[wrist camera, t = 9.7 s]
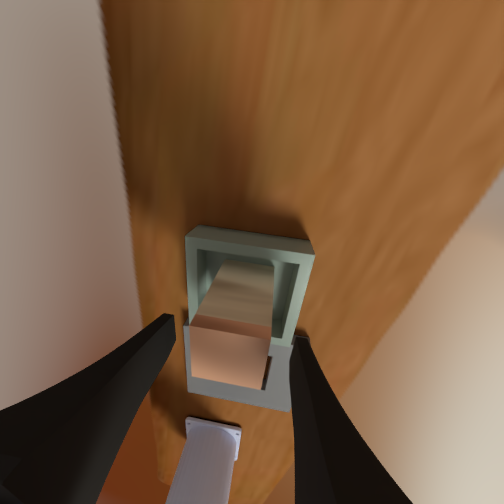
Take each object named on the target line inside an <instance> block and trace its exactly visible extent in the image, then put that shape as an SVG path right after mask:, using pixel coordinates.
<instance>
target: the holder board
mask: <svg viewBox="0 0 504 504" xmlns="http://www.w3.org/2000/svg"><path fill="white" fill-rule="evenodd" d="M183 328H184V342H185V357H186V371H187V386H188V392H191V393H196V394H201V395H206V396H211V397H215V398H220V399H225V400H230V401H235V402H240V403H245V404H250V405H255V406H260V407H265V408H270V409H275V410H280V411H284V412H289V411H290V409H291V395H290V384H289V360H290V356H291V352H292V349H293V345H294V342H295V338H296V336H297V335H293V338H292V342H291V345H290V347H285V346H280V345H274V344H270V347H269V352H268V356H271V358H270V363H269V367H268V372H267V376H266V379H263V381H262V386H261V390H259V389H254V388H249V387H243V386H238V385H233V384H228V383H223V382H218V381H213V380H208V379H203V378H198V377H193V376H192V372H191V353H190V334H189V317H188V318H187V320H186V322H185V323H184V325H183ZM297 337H302V338H307V339H308V341H309V343H310V338H309V337H303V336H297ZM310 346H311V344H310Z"/></svg>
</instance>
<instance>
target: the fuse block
mask: <svg viewBox="0 0 504 504" xmlns="http://www.w3.org/2000/svg"><path fill="white" fill-rule="evenodd" d="M274 269H275V267H273V266H267V265H260V264H253V263H247V262H240V261H234V260H227V259H225V260H224V262H223V264H222V265H221V267H220V269H219V271H218V273H217V275H216V277H215V278H214V280H213V282H212V284H211V286H210V288H209V290H208V291H207V293H206V295H205V297H204V299H203V301H202V303H201V304H200V306H199V308H198V310H197V312H196V314H195V315H194V317H193V319H192V321H191V323H190V325H189V334H190V353H191V372H192V376H193V377H198V378H203V379H208V380H213V381H218V382H223V383H228V384H233V385H238V386H243V387H249V388H254V389H259V390H261V386H262V381H263V376H264V371H265V367H266V362H267V357H268V352H269V347H270V342H271V329H272V309H273V289H274Z"/></svg>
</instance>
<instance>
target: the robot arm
mask: <svg viewBox="0 0 504 504" xmlns="http://www.w3.org/2000/svg"><path fill="white" fill-rule="evenodd" d="M175 341H176V333H175V322H174V315H171V314H166V313H164V314H162V315H161V316H160V317H158V318H157V319H156V320H154V321H153V322H152V323H150V324H149V325H148V326H147V327H145V328H144V329H143V330H141V331H140V332H139V333H137V334H136V335H135V336H133V337H132V338H131V339H129V340H128V341H127V342H125V343H124V344H122V345H121V346H119V347H118V348H116V349H115V350H114V351H112V352H111V353H109V354H108V355H106V356H105V357H103V358H102V359H100V360H98V361H97V362H95V363H93V364H92V365H90V366H88V367H87V368H85V369H84V370H82V371H80V372H78V373H76V374H75V375H73V376H71V377H69V378H67V379H65V380H63V381H61V382H60V383H58V384H56V385H54V386H52V387H50V388H48V389H46V390H44V391H42V392H40V393H38V394H36V395H34V396H32V397H30V398H27V399H25V400H23V401H21V402H19V403H17V404H15V405H12V406H10V407H8V408H5V409H3V410H1V411H0V504H96V501H97V499H98V497H99V494H100V492H101V489H102V487H103V485H104V482H105V480H106V477H107V475H108V473H109V471H110V468H111V466H112V464H113V462H114V460H115V457H116V455H117V453H118V451H119V448H120V446H121V444H122V442H123V440H124V438H125V435H126V433H127V431H128V429H129V427H130V425H131V423H132V421H133V419H134V417H135V415H136V412H137V411H138V408H139V406H140V404H141V402H142V401H143V399H144V397H145V396H146V394H147V392H148V391H149V389H150V387H151V385H152V384H153V382H154V380H155V379H156V377H157V375H158V374H159V372H160V370H161V369H162V367H163V365H164V363H165V362H166V360H167V358H168V356H169V354H170V352H171V350H172V348H173V345H174V343H175ZM289 384H290V395H291V406H292V416H293V427H294V450H295V504H413V503H412V502H411V501H410V500H409V498H408V497H407V496H406V495H405V494H404V492H403V491H402V490H401V489H400V487H399V486H398V485H397V484H396V482H395V481H394V480H393V478H392V477H391V476H390V475H389V473H388V472H387V471H386V470H385V468H384V467H383V466H382V464H381V463H380V462H379V460H378V459H377V457H376V456H375V455H374V453H373V452H372V451H371V449H370V448H369V447H368V445H367V444H366V442H365V441H364V440H363V438H362V437H361V435H360V434H359V432H358V431H357V429H356V428H355V426H354V425H353V423H352V422H351V420H350V419H349V417H348V416H347V414H346V413H345V411H344V409H343V408H342V406H341V405H340V403H339V401H338V399H337V398H336V396H335V394H334V392H333V391H332V389H331V387H330V385H329V383H328V381H327V379H326V378H325V376H324V374H323V372H322V370H321V368H320V366H319V364H318V361H317V359H316V357H315V355H314V353H313V350H312V348H311V346H310V343H309V341H308V339H307V338H302V337H297V336H296V338H295V342H294V345H293V349H292V352H291V356H290V360H289ZM185 422H186V433H187V440H186V443H185V446H184V449H183V452H182V455H181V458H180V461H179V464H178V467H177V470H176V473H175V476H174V479H173V482H172V485H171V488H170V491H169V494H168V497H167V501H166V503H165V504H228V498H229V492H230V485H231V479H232V472H233V465H234V460H237V457H238V450H239V444H240V438H241V431H242V429H241V428H239V427H235V426H230V425H226V424H221V423H216V422H211V421H207V420H202V419H197V418H193V417H187V418H186V420H185Z"/></svg>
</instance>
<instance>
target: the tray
mask: <svg viewBox="0 0 504 504" xmlns="http://www.w3.org/2000/svg"><path fill="white" fill-rule="evenodd" d="M185 250H186V270H187V289H188V309H189V325H190V323H191V321H192V319H193V317H194V315H195V314H196V312H197V310H198V308H199V306H200V304H201V303H202V301H203V299H204V297H205V295H206V293H207V291H208V290H209V288H210V286H211V284H212V282H213V280H214V278H215V277H216V275H217V273H218V271H219V269H220V267H221V265H222V264H223V262H224V260H225V259H227V260H234V261H240V262H247V263H253V264H260V265H267V266H273V267H275V269H274V289H273V309H272V329H271V342H270V344H274V345H280V346H285V347H290V345H291V342H292V338H293V335H294V331H295V327H296V324H297V320H298V316H299V313H300V309H301V305H302V302H303V298H304V294H305V291H306V287H307V283H308V280H309V276H310V273H311V269H312V265H313V262H314V258H315V253H314V250H313V248H312V245H311V242H310V240H303V239H296V238H289V237H282V236H275V235H268V234H261V233H254V232H247V231H240V230H233V229H226V228H219V227H212V226H205V225H198V226H196V227H195V228H194V229H193V230H192V231H190V232H189V233H188V234H187V235H185Z"/></svg>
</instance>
